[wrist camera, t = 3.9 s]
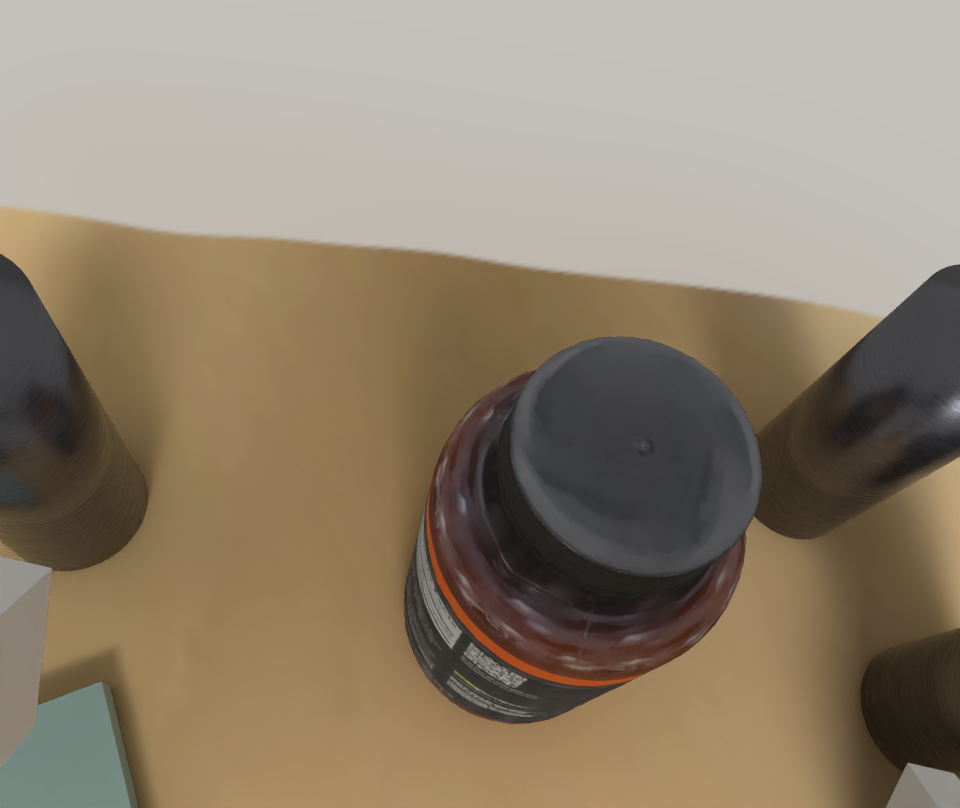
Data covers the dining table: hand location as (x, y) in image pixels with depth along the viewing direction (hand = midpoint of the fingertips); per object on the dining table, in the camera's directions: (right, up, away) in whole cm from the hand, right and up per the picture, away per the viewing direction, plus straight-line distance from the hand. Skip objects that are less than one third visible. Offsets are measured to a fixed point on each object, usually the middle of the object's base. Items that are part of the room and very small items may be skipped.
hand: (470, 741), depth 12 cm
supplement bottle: (+1, -1, +10) cm, 10 cm away
